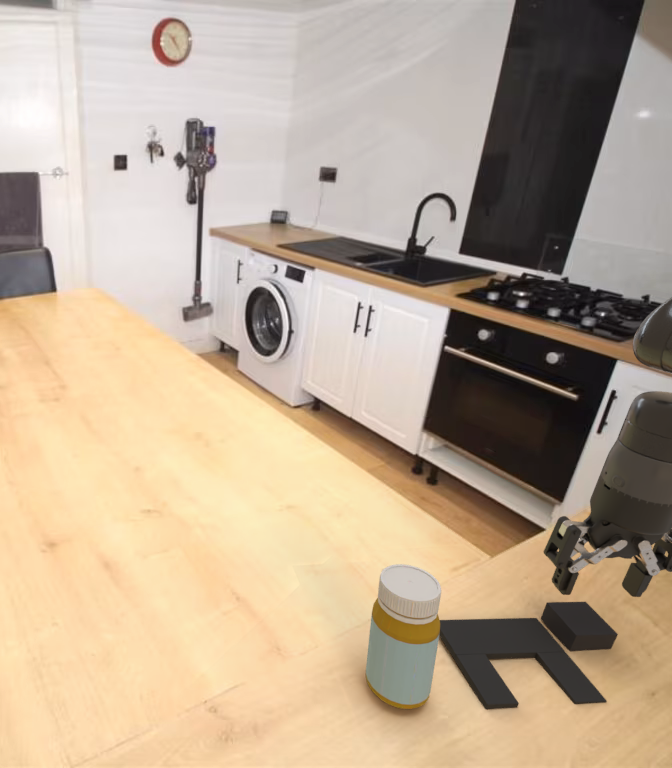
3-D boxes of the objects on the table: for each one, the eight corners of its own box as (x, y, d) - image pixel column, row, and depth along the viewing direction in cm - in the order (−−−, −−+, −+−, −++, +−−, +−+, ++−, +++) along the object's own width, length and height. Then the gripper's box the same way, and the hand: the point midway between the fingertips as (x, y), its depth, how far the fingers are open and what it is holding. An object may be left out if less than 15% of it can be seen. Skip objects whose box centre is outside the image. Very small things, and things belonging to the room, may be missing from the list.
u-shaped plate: (534, 623, 73) (536, 617, 73) (604, 707, 62) (607, 701, 62) (432, 625, 73) (434, 619, 72) (485, 710, 62) (487, 704, 61)
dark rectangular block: (578, 617, 74) (585, 601, 73) (610, 651, 69) (618, 634, 68) (540, 618, 74) (546, 602, 73) (569, 652, 69) (576, 635, 68)
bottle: (380, 653, 69) (392, 553, 64) (438, 685, 64) (455, 580, 59) (354, 687, 64) (364, 583, 59) (414, 724, 59) (431, 614, 54)
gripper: (678, 466, 65) (630, 571, 71) (557, 463, 65) (520, 568, 71) (738, 504, 58) (678, 616, 64) (602, 500, 58) (556, 612, 65)
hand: (595, 591), depth 68 cm, fingers open, 8 cm apart
